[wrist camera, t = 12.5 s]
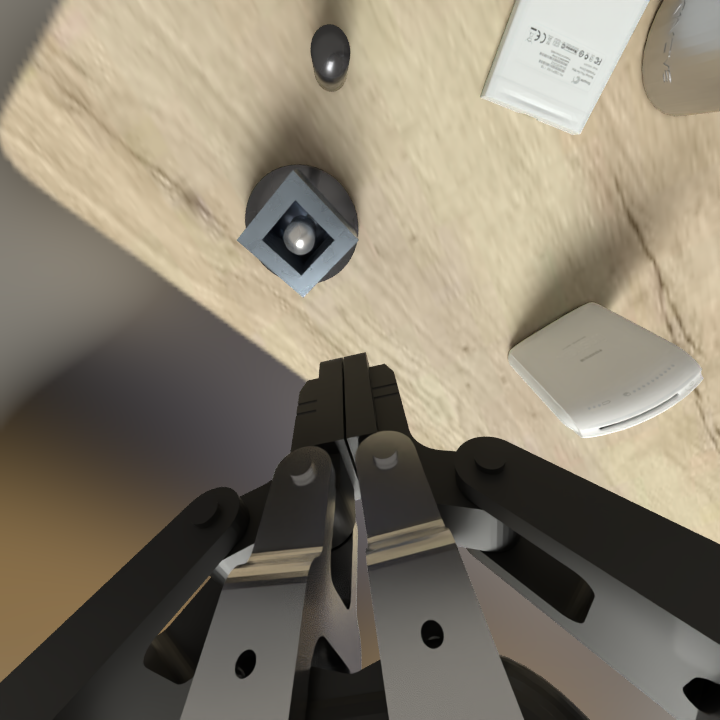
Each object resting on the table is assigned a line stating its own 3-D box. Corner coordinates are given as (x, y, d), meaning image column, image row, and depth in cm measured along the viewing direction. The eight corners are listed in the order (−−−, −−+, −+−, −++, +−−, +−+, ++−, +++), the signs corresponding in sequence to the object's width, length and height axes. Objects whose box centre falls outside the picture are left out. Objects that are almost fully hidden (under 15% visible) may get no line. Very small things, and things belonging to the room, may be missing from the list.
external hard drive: (691, -109, 19) (569, 135, 25) (578, -182, 17) (476, 98, 24) (719, -130, 18) (583, 134, 24) (600, -212, 16) (486, 94, 22)
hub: (341, 149, 24) (343, 148, 20) (368, 265, 29) (373, 282, 25) (228, 182, 25) (209, 187, 21) (273, 291, 30) (264, 310, 26)
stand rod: (342, 43, 21) (344, 18, 17) (350, 86, 22) (354, 71, 18) (309, 54, 21) (305, 31, 17) (319, 95, 22) (317, 82, 19)
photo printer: (595, 293, 32) (722, 357, 22) (605, 323, 34) (726, 396, 24) (500, 349, 35) (572, 430, 24) (515, 374, 37) (587, 459, 26)
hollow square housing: (298, 168, 24) (292, 170, 20) (355, 229, 26) (358, 240, 23) (249, 229, 26) (236, 240, 22) (306, 280, 28) (303, 297, 25)
